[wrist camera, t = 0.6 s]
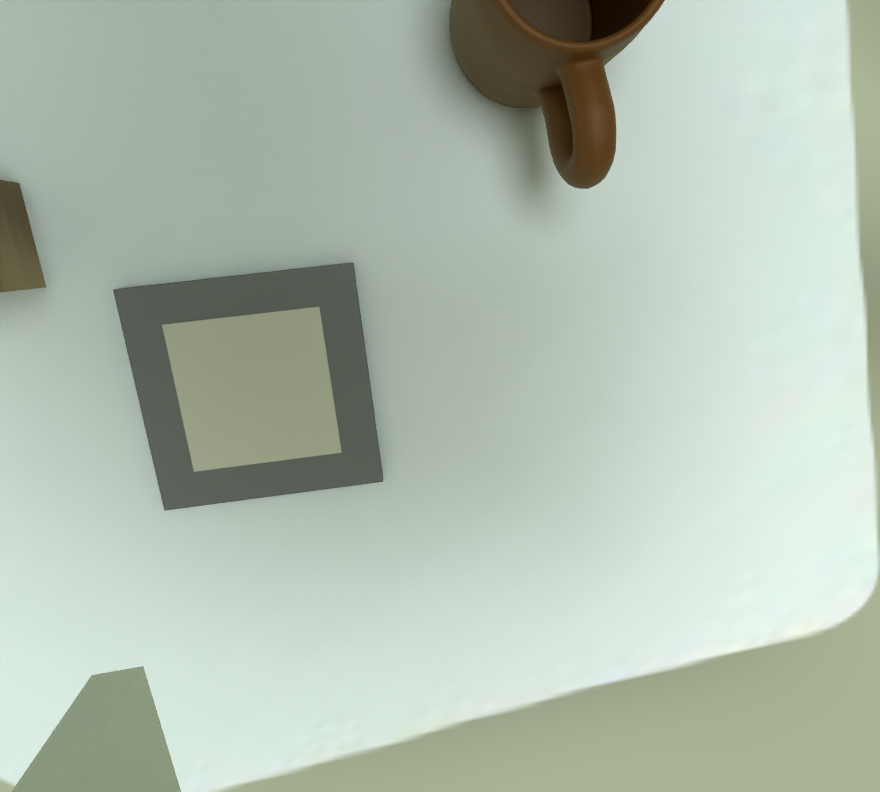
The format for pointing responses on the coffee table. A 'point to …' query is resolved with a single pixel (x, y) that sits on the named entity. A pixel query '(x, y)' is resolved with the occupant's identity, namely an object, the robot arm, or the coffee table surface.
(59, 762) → the robot arm
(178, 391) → the mat
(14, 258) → the walnut block
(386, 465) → the coffee table surface
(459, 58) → the mug
